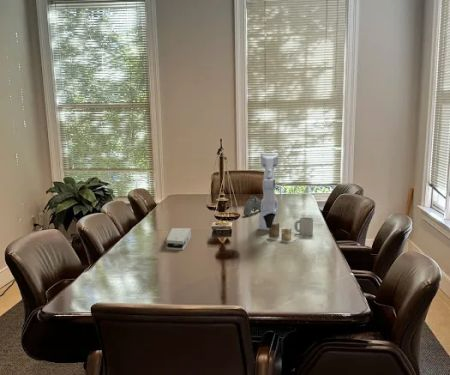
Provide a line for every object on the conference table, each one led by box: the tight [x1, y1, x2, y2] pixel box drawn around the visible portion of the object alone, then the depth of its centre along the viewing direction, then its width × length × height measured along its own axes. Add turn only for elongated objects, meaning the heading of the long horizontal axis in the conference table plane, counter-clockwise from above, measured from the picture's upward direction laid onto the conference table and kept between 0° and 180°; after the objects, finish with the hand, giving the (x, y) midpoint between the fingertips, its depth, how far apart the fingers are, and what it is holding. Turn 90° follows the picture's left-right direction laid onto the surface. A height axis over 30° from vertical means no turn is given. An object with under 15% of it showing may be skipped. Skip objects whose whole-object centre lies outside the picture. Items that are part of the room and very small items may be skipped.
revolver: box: [243, 195, 262, 217], centre depth 292 cm, size 5×22×15 cm, turn 148°
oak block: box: [281, 226, 292, 241], centre depth 222 cm, size 4×4×6 cm
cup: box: [293, 216, 314, 237], centre depth 234 cm, size 7×10×9 cm
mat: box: [259, 231, 304, 243], centre depth 229 cm, size 18×16×1 cm
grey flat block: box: [165, 227, 192, 251], centre depth 221 cm, size 26×11×5 cm, turn 176°
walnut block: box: [268, 222, 280, 238], centre depth 228 cm, size 4×4×8 cm
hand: (268, 227), depth 223 cm, fingers closed
